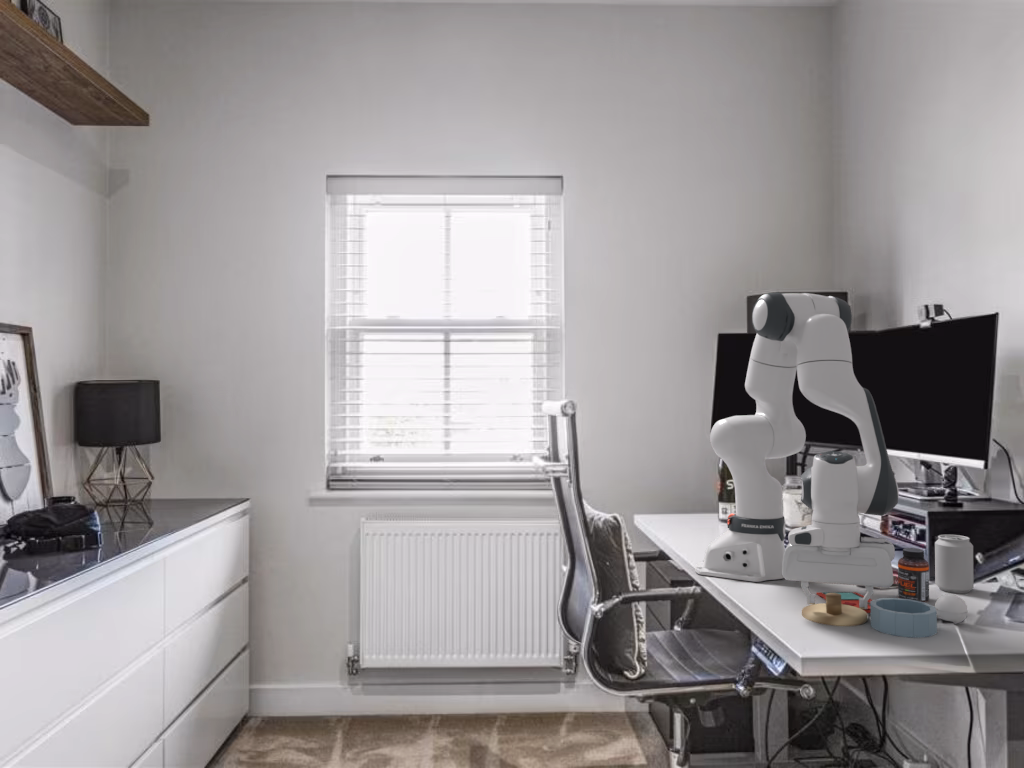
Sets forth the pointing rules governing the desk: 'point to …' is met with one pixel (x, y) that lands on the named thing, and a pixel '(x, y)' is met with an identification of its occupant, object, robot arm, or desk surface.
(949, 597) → the white rounded lump
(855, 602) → the handheld gaming console
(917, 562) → the supplement bottle
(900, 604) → the bowl
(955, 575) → the can
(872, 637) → the desk surface
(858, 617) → the lid
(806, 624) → the desk surface
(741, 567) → the robot arm
